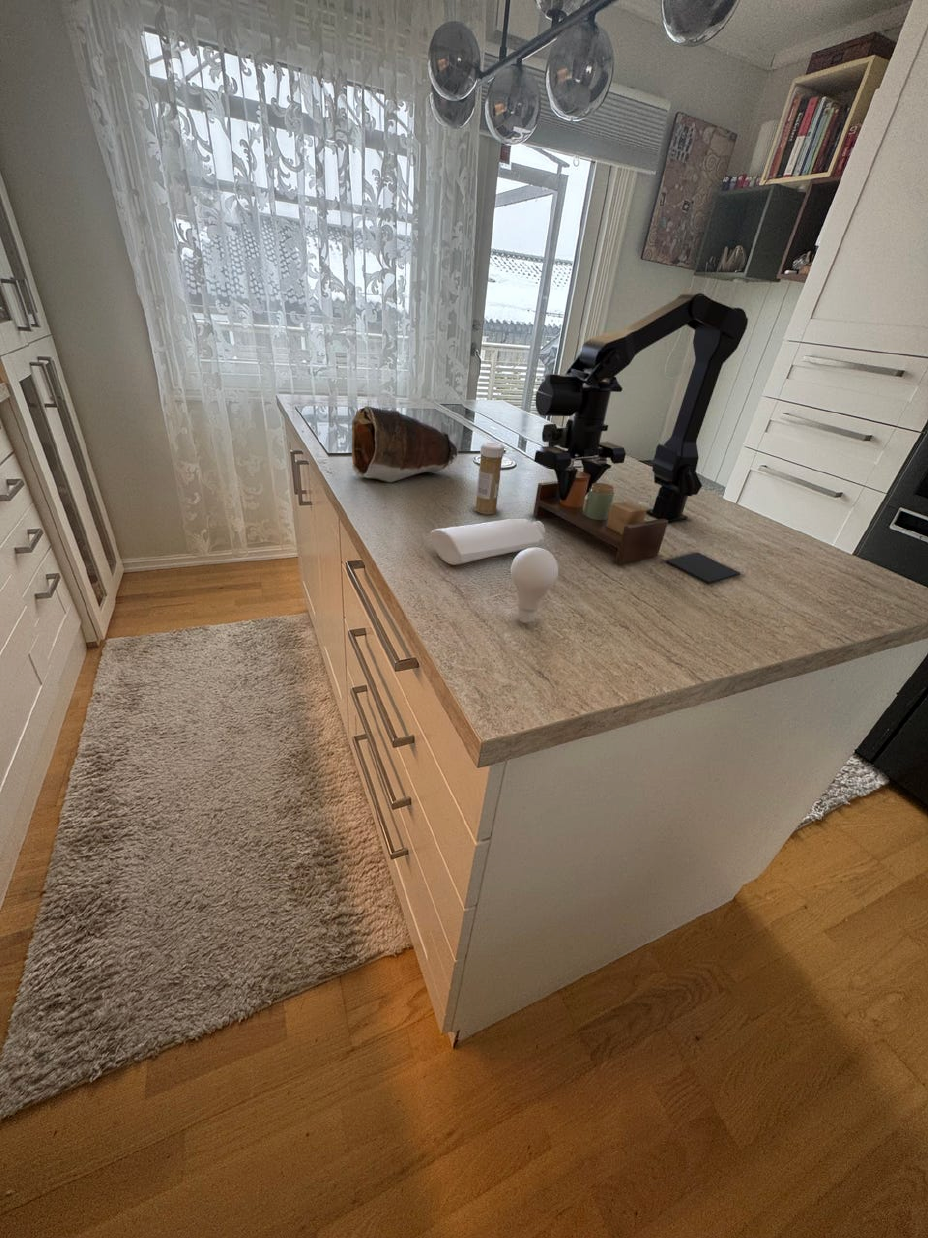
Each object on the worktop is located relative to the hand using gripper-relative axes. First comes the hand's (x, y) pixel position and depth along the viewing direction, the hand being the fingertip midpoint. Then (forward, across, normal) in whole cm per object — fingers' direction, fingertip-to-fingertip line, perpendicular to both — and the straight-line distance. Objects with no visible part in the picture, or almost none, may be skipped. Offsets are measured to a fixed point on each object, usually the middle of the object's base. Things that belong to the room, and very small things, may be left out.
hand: (572, 498), depth 103 cm
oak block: (+1, 0, +14) cm, 14 cm away
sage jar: (+1, 0, +7) cm, 7 cm away
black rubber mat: (+5, -9, +26) cm, 28 cm away
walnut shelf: (+5, 0, +7) cm, 9 cm away
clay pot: (+5, +17, -38) cm, 42 cm away
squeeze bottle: (+5, +23, +6) cm, 24 cm away
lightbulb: (+5, +32, +27) cm, 42 cm away
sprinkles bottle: (+5, +13, -11) cm, 18 cm away
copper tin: (+1, 0, 0) cm, 1 cm away
